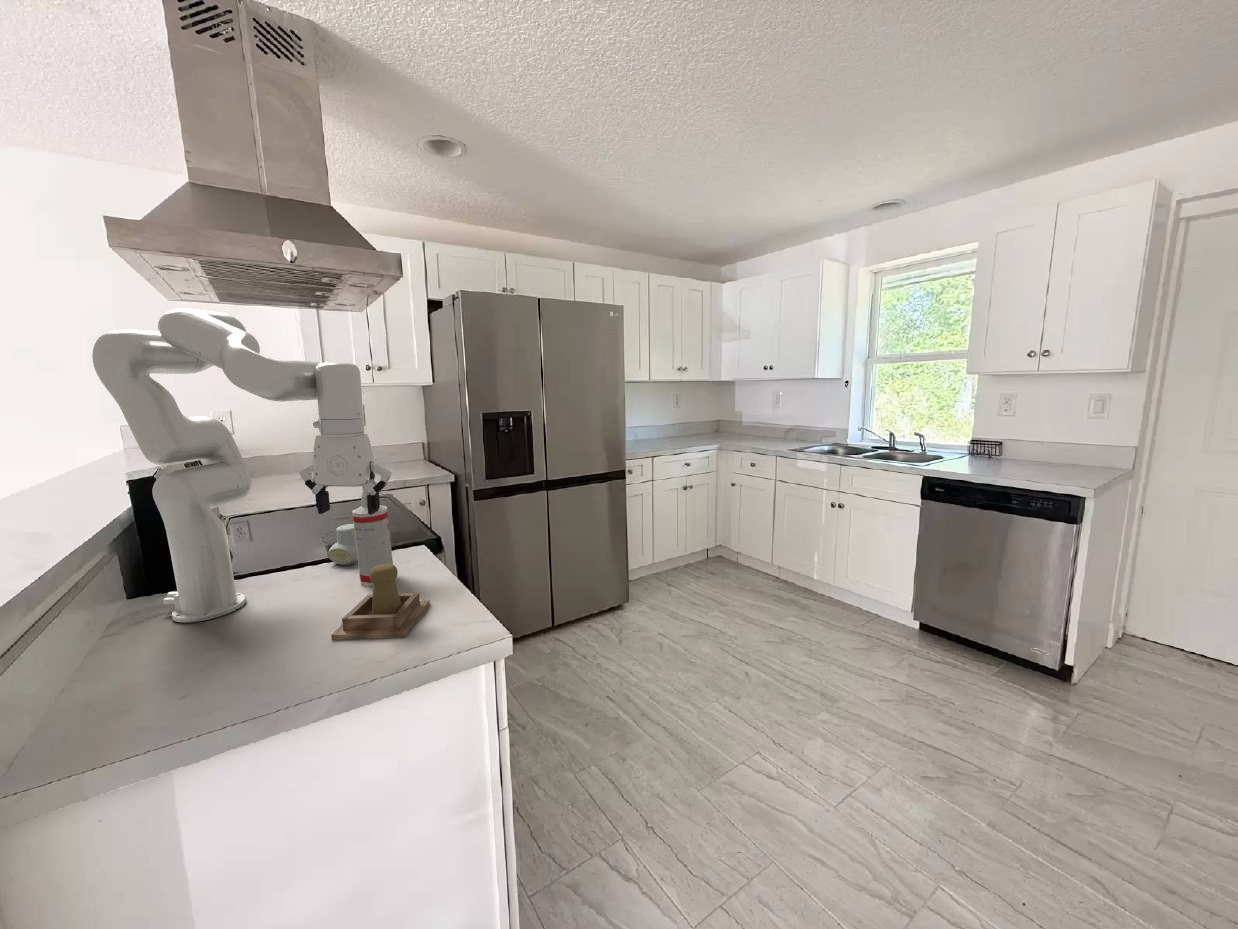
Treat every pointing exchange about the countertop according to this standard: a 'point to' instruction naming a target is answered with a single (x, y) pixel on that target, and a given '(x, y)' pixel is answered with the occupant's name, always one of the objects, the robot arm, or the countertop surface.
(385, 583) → the cork
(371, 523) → the white squeeze bottle
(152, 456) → the robot arm
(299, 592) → the countertop surface
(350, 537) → the pale green rounded piece
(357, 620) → the walnut holder
